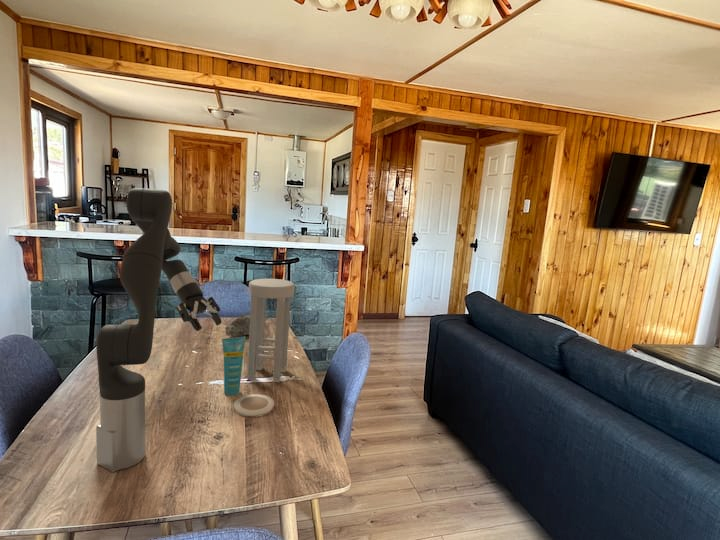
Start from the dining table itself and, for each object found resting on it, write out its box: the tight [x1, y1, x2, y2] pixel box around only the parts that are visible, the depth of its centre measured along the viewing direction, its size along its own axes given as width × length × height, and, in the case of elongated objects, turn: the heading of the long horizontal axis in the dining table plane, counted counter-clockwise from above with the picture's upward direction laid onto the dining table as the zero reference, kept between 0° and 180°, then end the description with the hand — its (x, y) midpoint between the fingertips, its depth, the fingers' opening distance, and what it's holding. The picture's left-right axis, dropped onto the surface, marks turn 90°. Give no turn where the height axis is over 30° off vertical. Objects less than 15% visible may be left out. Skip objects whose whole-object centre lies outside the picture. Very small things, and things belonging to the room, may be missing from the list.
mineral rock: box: [225, 313, 250, 337], centre depth 192 cm, size 13×11×10 cm
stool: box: [247, 278, 296, 384], centre depth 149 cm, size 16×16×35 cm
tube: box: [221, 335, 247, 397], centre depth 135 cm, size 7×5×19 cm, turn 123°
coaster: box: [233, 393, 275, 417], centre depth 128 cm, size 12×12×1 cm
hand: (209, 326), depth 138 cm, fingers open, 8 cm apart
